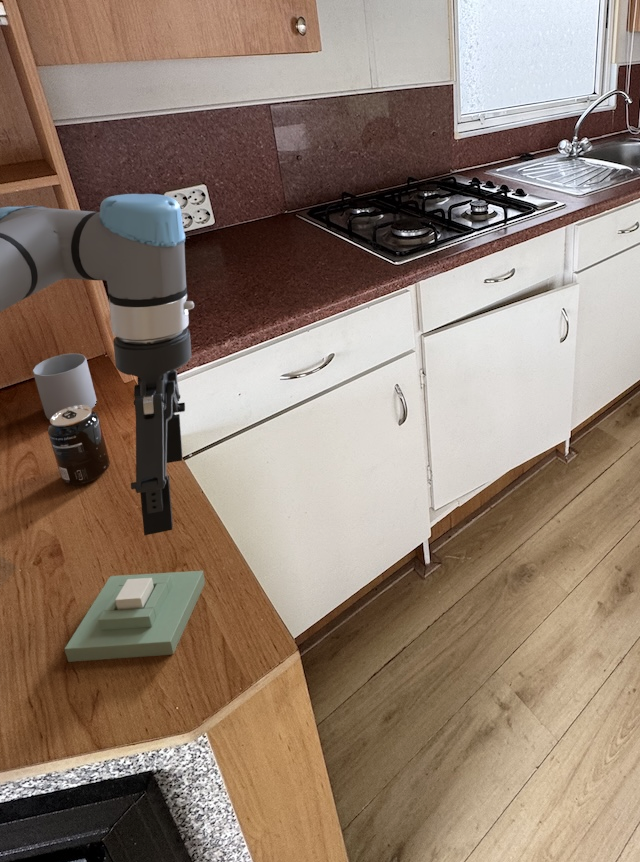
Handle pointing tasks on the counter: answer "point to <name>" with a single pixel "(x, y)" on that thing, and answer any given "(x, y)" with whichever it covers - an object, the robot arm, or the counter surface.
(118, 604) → the small white rectangular block
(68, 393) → the cup
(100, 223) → the robot arm
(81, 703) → the counter surface
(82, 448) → the beverage can
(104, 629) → the tiered green stack
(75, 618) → the counter surface
